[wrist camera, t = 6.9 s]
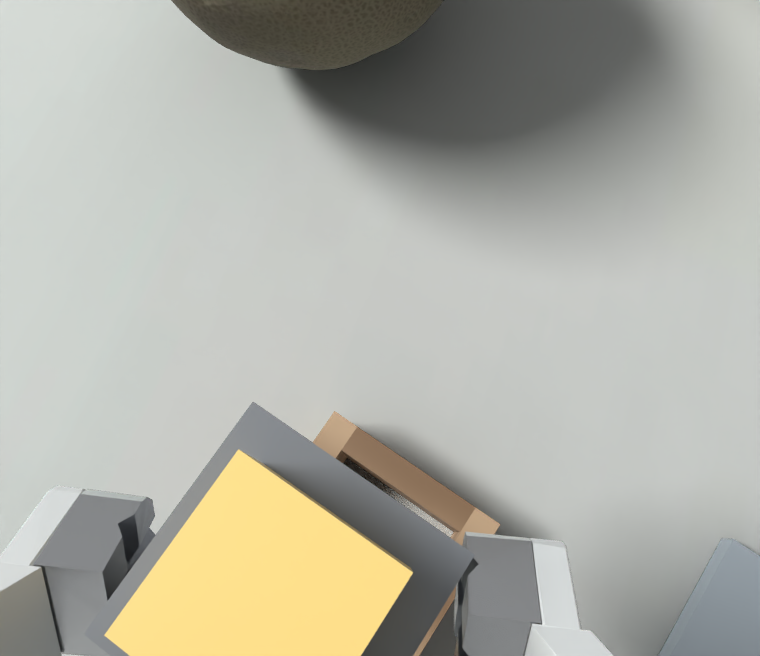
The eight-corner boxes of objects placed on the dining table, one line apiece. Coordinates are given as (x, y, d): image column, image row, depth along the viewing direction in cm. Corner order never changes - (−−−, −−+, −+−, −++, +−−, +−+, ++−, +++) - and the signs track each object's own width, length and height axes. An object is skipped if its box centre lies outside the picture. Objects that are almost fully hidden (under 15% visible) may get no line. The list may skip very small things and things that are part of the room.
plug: (350, 696, 15) (296, 873, 7) (215, 594, 16) (25, 650, 8) (442, 548, 16) (489, 557, 8) (311, 457, 17) (229, 377, 9)
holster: (387, 689, 26) (386, 709, 24) (235, 575, 28) (216, 580, 25) (490, 524, 28) (500, 524, 25) (341, 422, 29) (334, 411, 26)
